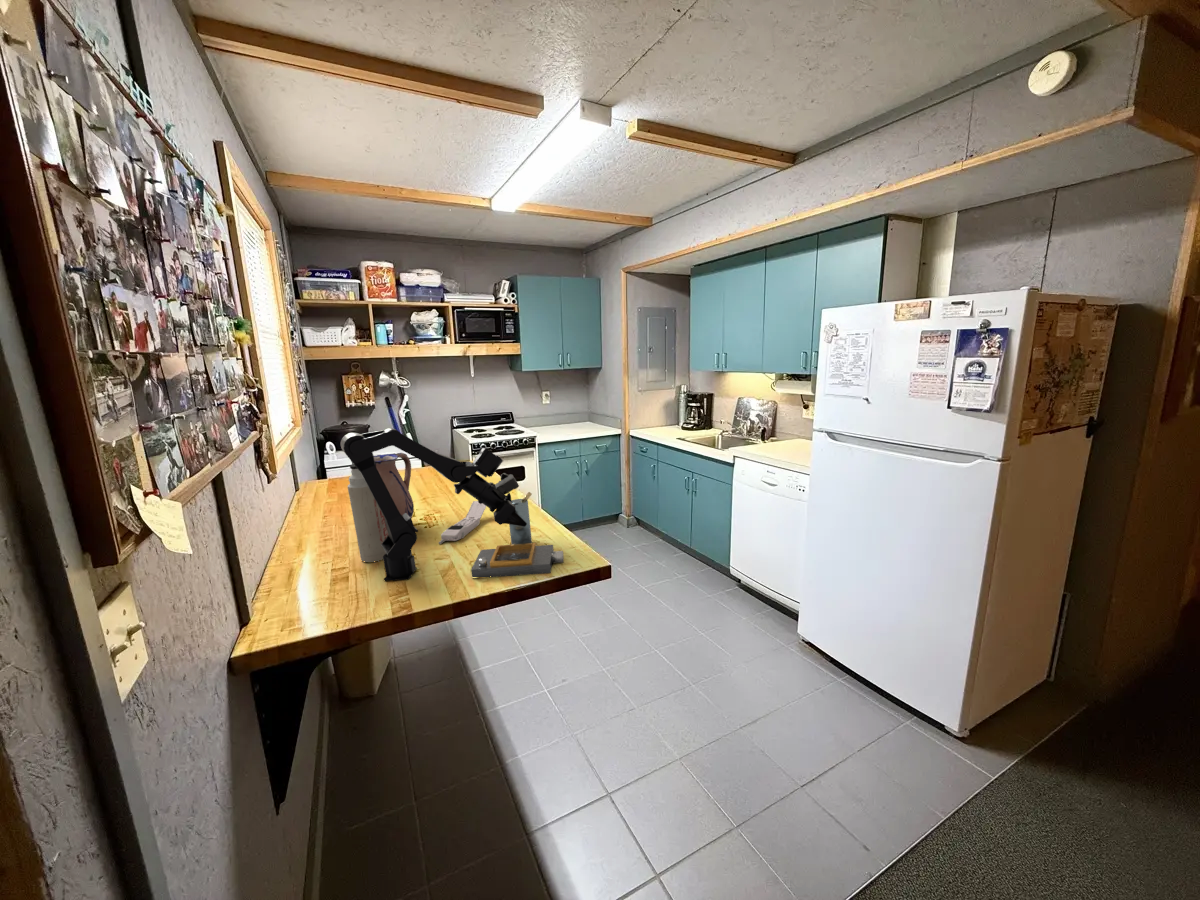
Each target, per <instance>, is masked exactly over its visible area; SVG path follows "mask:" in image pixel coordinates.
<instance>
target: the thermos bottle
mask: <svg viewBox="0 0 1200 900" xmlns="http://www.w3.org/2000/svg"><path fill="white" fill-rule="evenodd" d="M349 469H351V470H350V471H351V472H350V473H351V475H350V476H349V477H348V482H349V484H348V485H347V491H348V498H349V501H350V508H351V513H352V519H353V524H354V528H355V529H354V530H355V533H356V534H355V535H356V539H357V544H358V551H359V557H360V561H361V560H362V561H365V562H374V561H378V562H380V561H379V560H382V559H383V556H384V555H385V554H386V552H385V551H384V549H383V547H382V546H381V544H382V543H383V541H384V540H385V539H386V537H387V536H388V532H387V528H386V524H385V519H384V516H383V514H382V512H381V510H380V509H379V507H378V505H377V503H376V501H375V499H374V497H373V495H372V494H371V492H370V490H369V488H368V486H367V484H366V482H365V480H364V479H363V477H362V475H361V473H360V471H359V470H358V469H357V467H356V466H355V465H354V464H353V463H352V464H351V465H349ZM362 561H361V562H362ZM382 561H383V560H382ZM374 563H375V562H374Z"/></svg>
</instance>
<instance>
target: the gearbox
mask: <svg viewBox="0 0 1200 900" xmlns="http://www.w3.org/2000/svg"><path fill="white" fill-rule="evenodd" d="M477 555H478V556H477V557H476V560H475V561H474V563H473V565H472V567H471V570H470V572H471V578H472V577H489V578H499V577H500V578H501V577H502V578H503V577H513V576H515V577H516V576H528V575H542V574H551V573H552V567H553V564H556V563H557V564H558V563H564V561H565V560H564V551H563V550H557V551H556V550H554V545H553V544H544V545H537V544H536V542H532V543H527V544H513V545H511V544H500V545H496V547H495V548H489V549H481V550H480V551H479V553H478V554H477ZM490 576H491V577H490Z"/></svg>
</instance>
